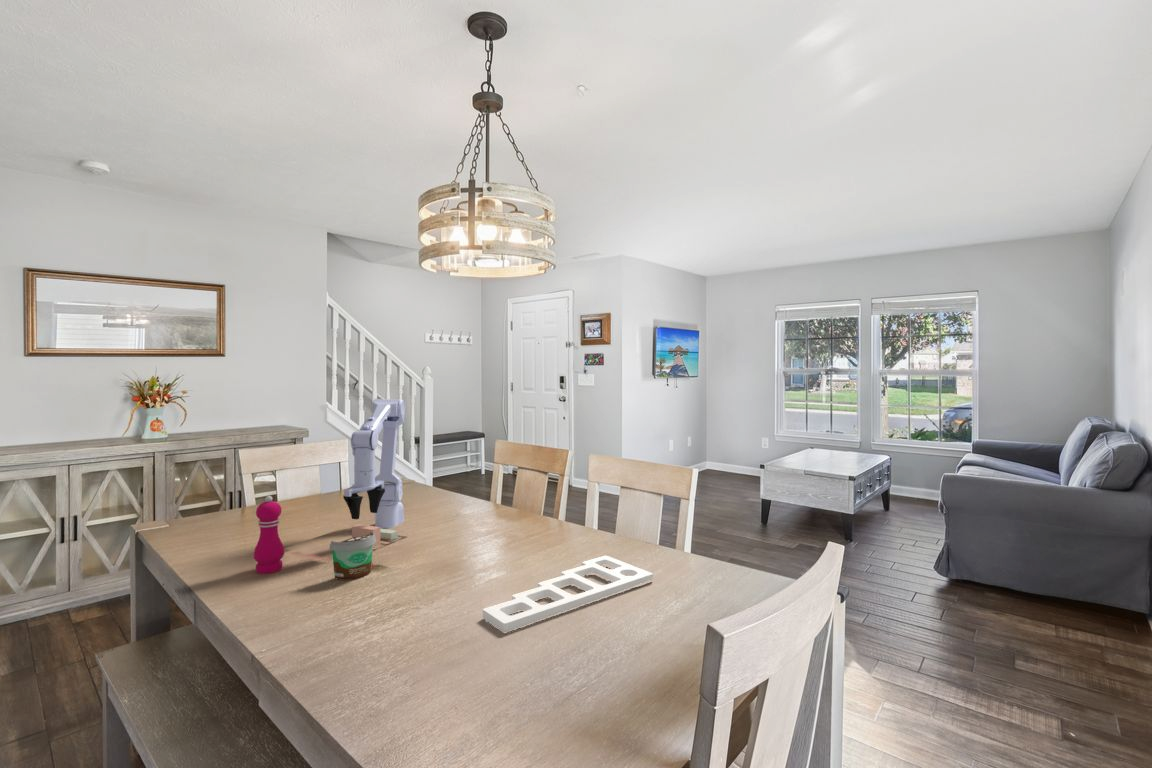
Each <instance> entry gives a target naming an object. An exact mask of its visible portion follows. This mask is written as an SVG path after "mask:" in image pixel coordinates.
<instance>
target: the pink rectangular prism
mask: <svg viewBox="0 0 1152 768" xmlns="http://www.w3.org/2000/svg"><path fill="white" fill-rule="evenodd" d="M370 531H372V532H373V533H374V535H375V538H376V543H375V544H373V549H376V548H378V547H381V544H380V543H381V541H380V527H375V525H367V524H361V523H359V524H356V525H353V526H352V527H351V538H353V537H362V536H366V535H369V534H370Z"/></svg>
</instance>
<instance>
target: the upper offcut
mask: <svg viewBox="0 0 1152 768" xmlns="http://www.w3.org/2000/svg"><path fill="white" fill-rule="evenodd" d="M397 535H398V530H396V529H395V530H393V529H389V528H383V529H382V528H380V538H382V540H385V539H389V540H388V541H392V539H394V538H396V537H397Z"/></svg>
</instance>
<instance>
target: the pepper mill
mask: <svg viewBox="0 0 1152 768" xmlns="http://www.w3.org/2000/svg"><path fill="white" fill-rule="evenodd" d="M264 500H265V501H264V502H262V503H260V504H258V506H257V508H256V510H255V515H256V517H257V519H259V520H258V524H257V525H258V527H259V530H260V531H259V537H258V541H257V544H256V546H255V548H254V551H253V559H254V560H255V561H256V562H257V563H256V564H255V572H256V573H257V574H262V575H263V574H272V573H276V571H277V572H279V571H280V570H282V569H283V561H282V560H281V559H282V558H283V557H284V555H285V547H284V544H283V542H282V540H281V538H280V535H279V531H278V530H279V529H278V528H279V527H278V526H279V525H280V518H279V517H280V515H281V514H282V507H281V506H282V505H280V504H279V503H278V502H276V501H273V496H271V495H267V496H266V497H265V498H264Z"/></svg>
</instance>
